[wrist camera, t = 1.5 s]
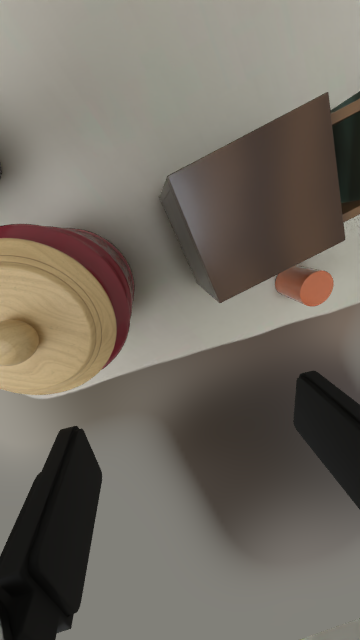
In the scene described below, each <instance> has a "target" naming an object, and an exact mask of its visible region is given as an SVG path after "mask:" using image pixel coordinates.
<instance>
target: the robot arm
mask: <svg viewBox="0 0 360 640" xmlns="http://www.w3.org/2000/svg"><path fill="white" fill-rule="evenodd" d="M294 426H295V428H296V430H297V431H298V432H299V434H300V435H301V436H302V437H303V439H304V440H305V441H306V442H307V444H308V445H309V446H310V447H311V449H312V450H313V451H314V452H315V454H316V455H317V456H318V458H319V459H320V460H321V461H322V463H323V464H324V465H325V466H326V468H327V469H328V470H329V471H330V473H331V474H332V475H333V476H334V478H335V479H336V480H337V481H338V483H339V484H340V485H341V486H342V488H343V489H344V490H345V491H346V493H347V494H348V495H349V496H350V498H351V499H352V500H353V501H354V503H355V504H356V505H357V506H358V508H359V509H360V405H359V404H358V403H357V402H355V401H354V400H353V399H351V398H350V397H349V396H347V395H346V394H345V393H344V392H342V391H341V390H340V389H338V388H337V387H336V386H335V385H333V384H332V383H331V382H329V381H328V380H327V379H326V378H324V377H323V376H322V375H320V374H319V373H318V372H316V371H310V372H305V373H302V374H300V376H299V378H297V384H296V396H295V409H294ZM101 483H102V472H101V470H100V467H99V465H98V462H97V460H96V458H95V455H94V453H93V451H92V449H91V447H90V444H89V442H88V440H87V437H86V435H85V433H84V431H83V429H79V428H78V427H77V426H74V427H69V428H66V429H62V430H60V431H59V433H58V435H57V437H56V440H55V442H54V444H53V447H52V449H51V451H50V454H49V456H48V458H47V460H46V463H45V465H44V467H43V470H42V472H40V473H39V474H38V475H37V477H36V479H35V480H34V482H33V485H32V487H31V489H30V491H29V494H28V496H27V498H26V500H25V503H24V505H23V507H22V509H21V511H20V514H19V516H18V518H17V520H16V523H15V525H14V527H13V529H12V532H11V533H10V536H9V538H8V541H7V542H6V545H5V547H4V549H3V551H2V554H1V556H0V640H55V638H56V634H57V633H59V632H62V631H65V630H68V629H71V625H72V620H73V614H74V613H76V612H77V611H78V609H79V607H80V603H81V598H82V593H83V587H84V581H85V575H86V570H87V563H88V558H89V552H90V546H91V540H92V534H93V528H94V523H95V517H96V511H97V506H98V500H99V494H100V488H101ZM301 640H360V618H359V619H357V620H354V621H351V622H348V623H345V624H342V625H340V626H337V627H334V628H331V629H328V630H326V631H323V632H320V633H317V634H314V635H312V636H309V637H306V638H304V639H301Z"/></svg>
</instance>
